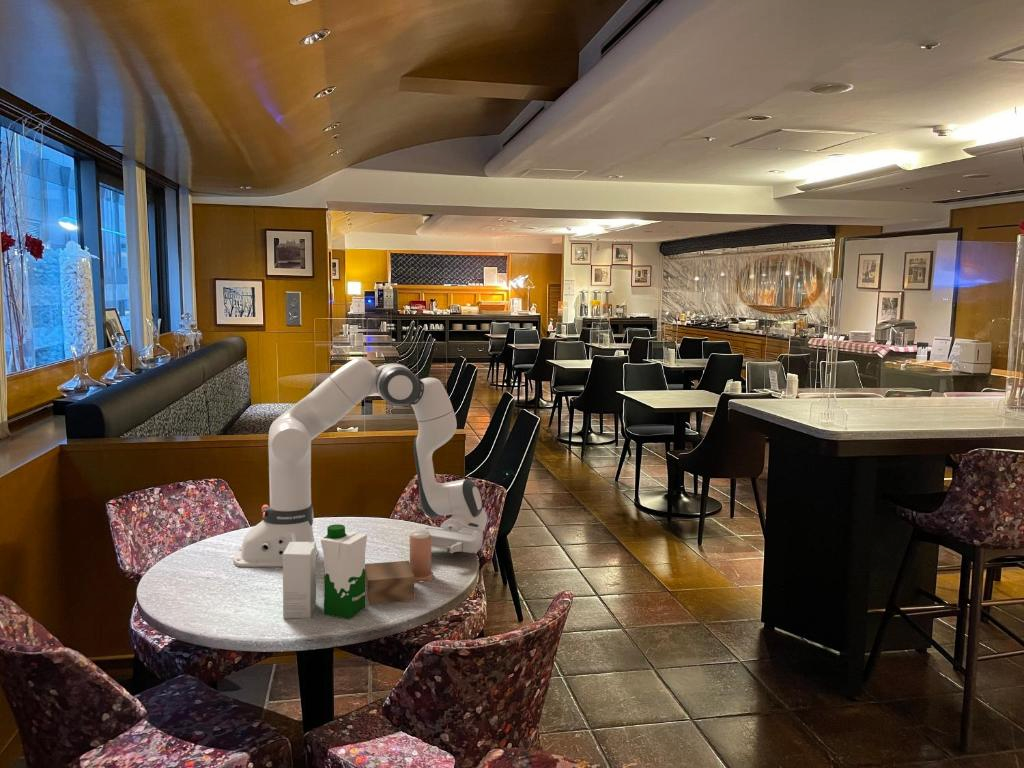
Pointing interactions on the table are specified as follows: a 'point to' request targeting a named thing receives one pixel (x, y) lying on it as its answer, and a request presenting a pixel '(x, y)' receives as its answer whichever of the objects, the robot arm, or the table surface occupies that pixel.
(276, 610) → the table surface
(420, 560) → the canister
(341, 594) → the milk carton
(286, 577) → the skincare box
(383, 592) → the block
